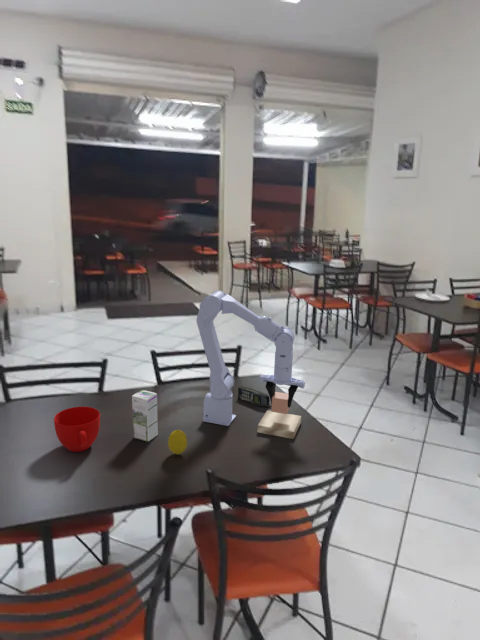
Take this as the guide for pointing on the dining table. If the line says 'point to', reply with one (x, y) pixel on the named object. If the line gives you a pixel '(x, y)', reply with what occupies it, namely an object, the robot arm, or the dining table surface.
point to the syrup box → (144, 415)
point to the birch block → (279, 424)
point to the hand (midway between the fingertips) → (281, 404)
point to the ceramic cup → (77, 427)
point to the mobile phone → (253, 396)
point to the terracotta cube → (280, 403)
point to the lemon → (177, 442)
